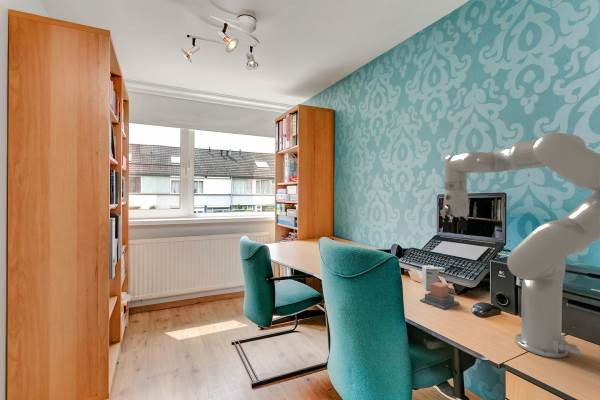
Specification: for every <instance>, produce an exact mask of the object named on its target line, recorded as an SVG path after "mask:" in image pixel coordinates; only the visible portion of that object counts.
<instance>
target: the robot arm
mask: <svg viewBox="0 0 600 400" xmlns="http://www.w3.org/2000/svg"><path fill="white" fill-rule="evenodd" d="M544 167H546V168H548V169H549V170H551V171H553V172H554V173H556V174H558V175H559V176H560V177H562V178H564V179H566V180H567V181H568V182H570V183H572V184H573V185H575V186H576V187H579V188H580V189H583V190H587V191H593V193H592V194H591V195H590V196H588V197H587V198H586V199H584V200H583V201H582V202H580V203H579V204H578V205H577V206H575V208H574V209H572V211H571V212H569V213H568V214H567V215H565V216H564V217H562V218H560V219H557V220H551V221H547V222H544V223H542V224H540V225H538V226H537V227H536V228H535V229H534V230H533V231H531V232H530V233H529V234H528V235H527V236H526V237H525V238H524V239H523V240H522V241H521V242H519V243H518V244H517V245H516V246H515V247H514V248H512V249H511V251H510V252H509V254H508V255H507V260H506V264H507V268H508V270H509V272H510V273H511V274H512V275H514V276H515V277H516V278H517V279H520V280H522V281H521V282H522V283H521V314H520V315H521V318H520V319H521V321H520V322H521V324H520V327H521V331H520V332H521V333H518V334H515V337H514V341H515V343H516V344H517V345H518V346H519V347H520V348H521V349H524V350H526V351H528V352H530V353H533V354H535V355H539V356H543V357H547V358H553V359H555V358H564V357H567V356H568V355H569V353H570V354H571V355H574V356H576V357H580V355H581V349H580V348H578V345H576V344H573V343H569V342H568V341H566V336H565V335H562V316H563V315H562V314H563V313H562V311H563V310H562V308H563V307H562V306H563V285H564V284H563V283H564V278H565V273H566V269H567V268H566V266H567V265H566V264H567V263H566V258H567V257H569V256H570V255H573V254H578V253H580V252H583V251H585V250H586V249H588V248H589V247H591V245H592V244H593V243H595V242H596V241H597V240H598V239H599V238H600V153H598V152H596V151H595V150H592V149H590V148H588V147H587V145H586V143H585V141H584V139H583V138H581V137H580V136H578V135H577V134H576V135H575V134H571V133H566V132H565V133H564V132H551V133H550V132H549V133H546V134H544V135H542V136H541V137H539V138H538V139H537V138H536V139H534V140H532V139H531V140H528V141H519V142H516V143H513V145H512V146H511V147H510V148H507V149H504V150H503V149H501V150H496V151H490V152H485V151H466V152H464V153H459V154H449V155H446V156H445V158H444V196H443V197H444V198H443V208H442V209H440V214H441V218H442V222H443V233H447V234H448V233H449V234H450V233H451V234H452V233H453V232H454V229H453V224H454V223H453V222H452V221H453V219H454V217H455V218H458V219H457V220H458V221H457V222H458V223H457V226H458V228H457V229H458V231H468V220H469V218H468V217H469V215H470V205H469V204H470V203H469V194H468V189H467V187H468V184H467V181H468V176H467V175H468V173H469V174H473V173H474V174H475V173H476V174H479V173H480V174H488V173H489V174H490V173H498V172H507V171H519V170H525V169H526V170H527V169H536V168H544Z"/></svg>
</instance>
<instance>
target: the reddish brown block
mask: <svg viewBox="0 0 600 400" xmlns="http://www.w3.org/2000/svg"><path fill="white" fill-rule="evenodd" d="M430 292H431V296H434V297H437V298H440V299H444V298H447V297H448V294H449V284H448V285H447V284H443V283H440V282H435V283H432V284H431V290H430Z"/></svg>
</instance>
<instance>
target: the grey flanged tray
mask: <svg viewBox="0 0 600 400" xmlns="http://www.w3.org/2000/svg"><path fill="white" fill-rule="evenodd" d="M419 303H424V304H426V305H429V306H432V307H435V308H437V309H440V310H443V311H444V310H448V309H450V308H452V306H453V307H456V306H457V305H459V304H460V301H457V300H455V296H454V295H453V294H449V293H448V297H447V298H444V299H440V298H437V297H434V296H431V291H430V292H428V293H427V292H426V293H425V294H424V298H421V299H419Z"/></svg>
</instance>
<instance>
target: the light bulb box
mask: <svg viewBox="0 0 600 400" xmlns="http://www.w3.org/2000/svg"><path fill="white" fill-rule="evenodd" d="M444 269H445V268H443V267H438V266H434V264H433V265H431V264H430V265H429V264H427V265H425V264H424V265H421V275H422V276H421V280H422V282H421V283H422V287H423V289H424V290H425V291H431V284H432V283H435V282H440V283H442V281H441V280H440V278H439V277H438V273H439V272H440V271H442V270H444Z"/></svg>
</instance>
